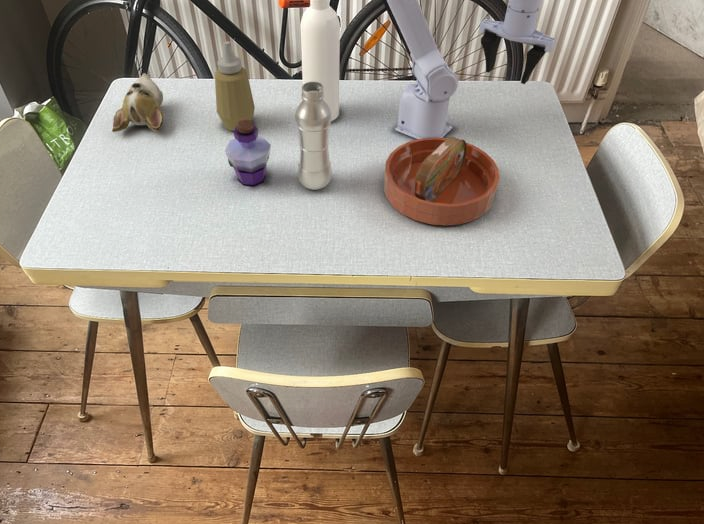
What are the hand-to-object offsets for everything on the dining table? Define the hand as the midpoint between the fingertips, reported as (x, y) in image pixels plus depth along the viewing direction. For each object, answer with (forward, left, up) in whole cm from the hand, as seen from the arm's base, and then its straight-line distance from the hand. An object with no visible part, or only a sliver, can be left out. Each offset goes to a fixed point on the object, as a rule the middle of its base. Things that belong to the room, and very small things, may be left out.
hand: (506, 76), depth 115 cm
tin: (+2, -28, -10) cm, 29 cm away
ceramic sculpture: (-61, -45, -11) cm, 77 cm away
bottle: (-32, -20, -11) cm, 39 cm away
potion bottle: (-29, -46, -11) cm, 55 cm away
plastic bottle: (-18, -40, -11) cm, 45 cm away
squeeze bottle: (-44, -34, -11) cm, 57 cm away
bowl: (+2, -28, -10) cm, 30 cm away
